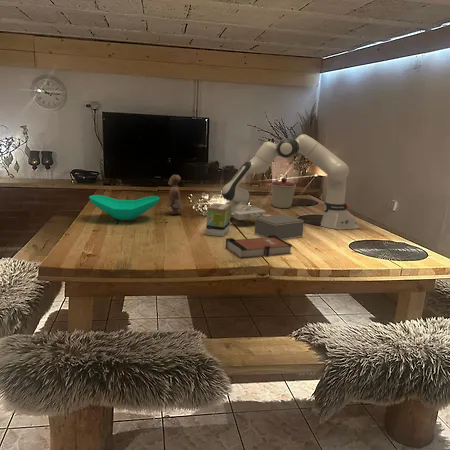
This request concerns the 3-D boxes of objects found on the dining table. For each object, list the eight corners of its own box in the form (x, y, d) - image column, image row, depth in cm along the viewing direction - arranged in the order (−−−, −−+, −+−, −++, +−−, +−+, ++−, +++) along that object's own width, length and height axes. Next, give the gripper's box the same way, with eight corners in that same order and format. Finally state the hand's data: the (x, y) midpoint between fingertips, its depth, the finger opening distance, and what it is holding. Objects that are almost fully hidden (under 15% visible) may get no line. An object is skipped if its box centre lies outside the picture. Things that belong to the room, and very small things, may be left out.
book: (241, 259, 193) (242, 248, 192) (225, 248, 208) (226, 238, 207) (292, 255, 203) (293, 244, 202) (273, 244, 219) (274, 235, 217)
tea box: (224, 236, 228) (225, 208, 224) (205, 235, 229) (206, 207, 226) (229, 230, 242) (231, 203, 238) (212, 228, 244) (213, 202, 240)
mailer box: (282, 229, 248) (283, 216, 246) (302, 236, 235) (303, 222, 233) (254, 233, 236) (255, 219, 234) (274, 241, 224) (275, 225, 222)
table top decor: (86, 224, 239) (85, 200, 236) (93, 214, 265) (92, 192, 262) (159, 225, 245) (159, 202, 242) (159, 214, 272) (159, 193, 269)
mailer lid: (278, 214, 249) (278, 213, 249) (303, 221, 233) (303, 220, 233) (250, 217, 238) (250, 216, 237) (275, 225, 222) (275, 223, 222)
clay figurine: (168, 211, 281) (168, 172, 275) (183, 212, 282) (184, 173, 276) (166, 216, 269) (166, 175, 263) (182, 216, 269) (183, 176, 263)
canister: (298, 207, 318) (300, 178, 313) (287, 210, 303) (290, 180, 298) (275, 203, 327) (277, 175, 322) (264, 207, 312) (266, 177, 307)
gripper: (229, 208, 253) (243, 213, 242) (256, 205, 264) (272, 210, 253) (228, 219, 254) (243, 224, 243) (256, 216, 266) (271, 220, 255)
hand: (258, 217), depth 248 cm, fingers closed
